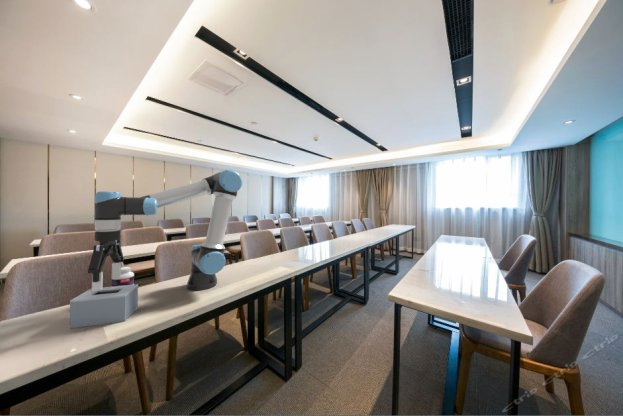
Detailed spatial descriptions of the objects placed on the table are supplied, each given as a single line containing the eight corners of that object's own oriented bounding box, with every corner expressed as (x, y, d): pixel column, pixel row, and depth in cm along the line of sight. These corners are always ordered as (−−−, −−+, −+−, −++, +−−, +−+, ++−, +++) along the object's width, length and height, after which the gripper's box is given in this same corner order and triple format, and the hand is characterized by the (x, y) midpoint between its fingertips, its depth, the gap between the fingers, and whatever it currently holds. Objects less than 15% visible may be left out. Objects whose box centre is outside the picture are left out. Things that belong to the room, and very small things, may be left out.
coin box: (137, 307, 94) (138, 284, 94) (124, 321, 83) (125, 295, 82) (90, 312, 88) (90, 288, 88) (69, 328, 77) (70, 300, 77)
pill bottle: (120, 303, 97) (120, 271, 97) (106, 301, 99) (106, 270, 98) (138, 296, 105) (138, 266, 105) (124, 294, 106) (125, 265, 106)
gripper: (112, 227, 96) (112, 274, 96) (73, 234, 72) (73, 297, 72) (133, 227, 98) (132, 273, 98) (102, 234, 75) (101, 294, 75)
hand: (107, 283), depth 85 cm, fingers open, 13 cm apart
